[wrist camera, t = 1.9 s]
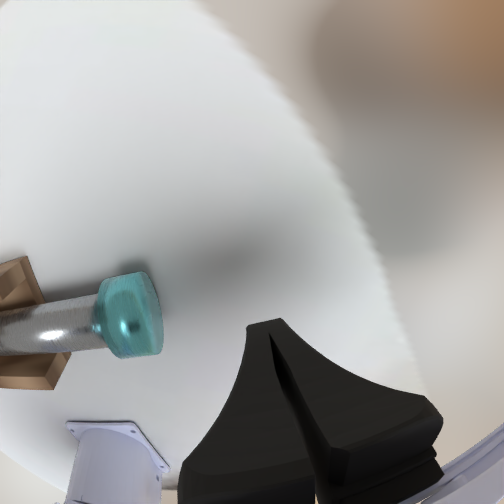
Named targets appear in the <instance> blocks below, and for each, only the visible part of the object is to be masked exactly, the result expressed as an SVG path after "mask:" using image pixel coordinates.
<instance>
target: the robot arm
mask: <svg viewBox="0 0 504 504" xmlns="http://www.w3.org/2000/svg"><path fill="white" fill-rule="evenodd" d="M246 332H247V333H246V344H245V350H244V354H243V358H242V362H241V366H240V369H239V372H238V375H237V378H236V381H235V383H234V386H233V388H232V391H231V393H230V395H229V397H228V399H227V401H226V403H225V405H224V407H223V409H222V411H221V413H220V414H219V416H218V418H217V419H216V421H215V422H214V424H213V425H212V427H211V428H210V430H209V431H208V432H207V434H206V435H205V437H204V438H203V439H202V441H201V442H200V443H199V444H198V446H197V447H196V448H195V449H194V450H193V451H192V452H191V454H190V455H189V456H188V457H187V458H186V459H185V460H184V461H183V464H182V467H181V471H180V475H179V481H178V489H177V492H178V494H177V495H178V504H315V493H316V497H317V501H318V504H416V503H418V502H420V501H422V500H423V499H425V498H427V497H428V498H427V499H425V500H424V501H422V502H421V504H497V503H498V502H499V501H500V500H501V499H502V498H504V423H503V424H501V425H500V426H499V427H498V428H497V429H495V430H494V431H493V432H492V433H490V434H489V435H488V436H487V437H485V438H484V439H483V440H481V441H480V442H479V443H477V444H476V445H474V446H473V447H472V448H470V449H469V450H467V451H466V452H464V453H463V454H461V455H460V456H458V457H457V458H455V459H454V460H452V461H451V462H449V463H447V464H446V465H444V466H443V467H441V468H440V466H439V464H438V463H437V461H436V460H435V457H436V455H437V453H436V451H435V450H434V448H433V446H432V445H433V443H434V441H435V440H436V438H437V436H438V435H439V433H440V431H441V428H442V426H443V417H442V416H441V414H440V413H439V412H438V411H437V409H436V408H435V407H434V405H433V404H432V403H431V402H430V401H429V400H428V399H427V398H426V397H425V396H423V395H418V394H413V393H408V392H403V391H399V390H395V389H392V388H388V387H385V386H382V385H379V384H376V383H374V382H371V381H369V380H366V379H364V378H362V377H359V376H357V375H355V374H353V373H351V372H349V371H347V370H345V369H344V368H342V367H340V366H338V365H337V364H335V363H333V362H332V361H330V360H329V359H327V358H326V357H325V356H323V355H322V354H320V353H319V352H318V351H316V350H315V349H314V348H312V347H311V346H310V345H309V344H308V343H306V342H305V341H304V340H303V339H302V338H301V337H300V336H298V335H297V334H296V333H295V332H294V331H293V330H292V329H291V328H290V327H289V326H288V325H287V324H286V322H285V321H284V320H283V319H281V318H278V319H273V320H269V321H264V322H260V323H255V324H251V325H248V326H247V328H246ZM65 426H66V428H67V429H68V430H69V431H70V432H71V433H72V435H73V436H74V437H75V438H76V439H77V440H78V441H79V442H80V443H79V446H78V450H77V454H76V457H75V461H74V465H73V469H72V473H71V477H70V482H69V486H68V491H67V495H66V500H65V502H64V504H161V489H162V473H165V472H170V468H169V466H168V465H167V464H166V463H165V462H164V461H163V459H162V458H161V457H160V456H159V455H158V453H157V452H156V451H155V450H154V448H153V447H152V446H151V444H150V443H149V442H148V441H147V439H146V438H145V437H144V435H143V434H142V433H141V431H140V430H139V429H138V427H137V426H136V425H135V424H134V423H131V422H124V423H83V422H66V424H65ZM429 496H430V497H429ZM55 504H59V503H57V502H56V503H55Z"/></svg>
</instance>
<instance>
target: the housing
mask: <svg viewBox="0 0 504 504" xmlns="http://www.w3.org/2000/svg"><path fill="white" fill-rule="evenodd" d="M40 304H45V300H44V298H43V296H42V294H41V291H40V289H39V286H38V284H37V281H36V279H35V276H34V274H33V271H32V269H31V266H30V263H29V260H28V258H27V256H25V257H21V258H18V259H15V260H12V261H9V262H5V263H2V264H0V312H2V311H7V310H13V309H18V308H24V307H29V306H34V305H40ZM70 356H71V352H60V353H47V354H32V355H13V356H0V388H9V389H29V390H54V388H55V386H56V384H57V382H58V380H59V378H60V376H61V374H62V372H63V370H64V368H65V366H66V364H67V362H68V360H69V358H70Z"/></svg>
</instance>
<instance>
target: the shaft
mask: <svg viewBox="0 0 504 504" xmlns="http://www.w3.org/2000/svg"><path fill="white" fill-rule="evenodd" d="M163 335H164V334H163V322H162V315H161V310H160V306H159V302H158V298H157V295H156V292H155V289H154V287H153V284H152V282H151V280H150V278H149V277H148V276H147V274H146V273H145V272H143V271H140V272H135V273H130V274H126V275H121V276H116V277H111V278H107V279H105V280H104V281H103V282H102V283H101V285H100V288H99V291H98V294H93V295H88V296H82V297H77V298H72V299H67V300H61V301H56V302H51V303H45V304H40V305H34V306H29V307H24V308H18V309H13V310H7V311H2V312H0V356H13V355H32V354H47V353H60V352H71V351H81V350H91V349H100V348H108V347H109V349H110V350H111V351H112V353H113V354H114V355H115V356H117V357H118V358H121V359H125V358H134V357H141V356H149V355H156V354H159V353H160V352H161V350H162V347H163Z"/></svg>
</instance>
